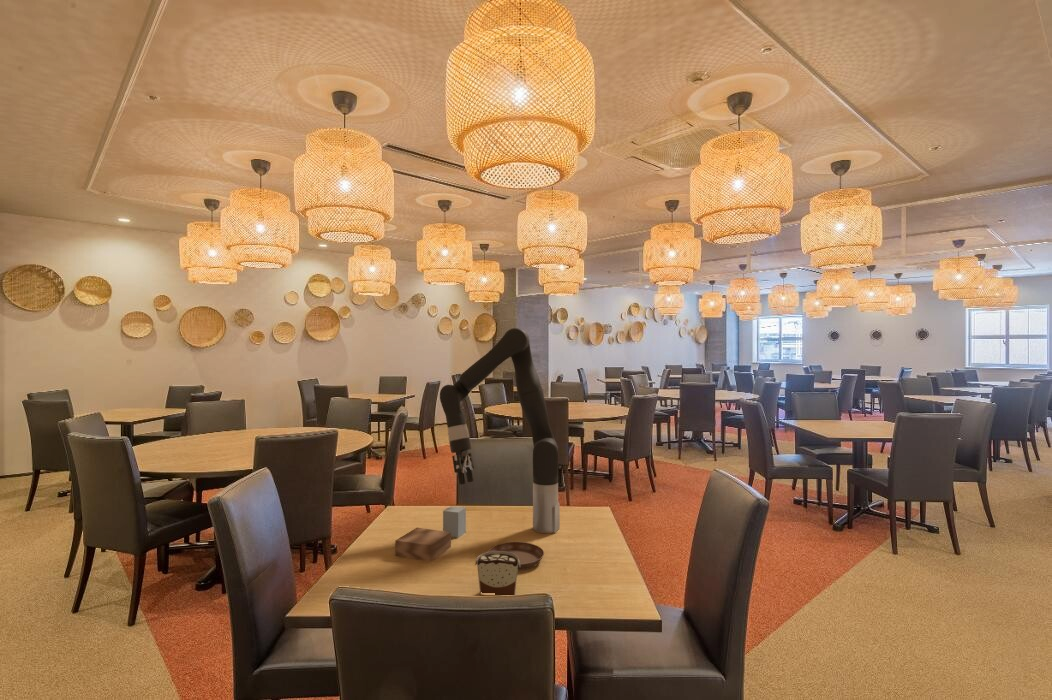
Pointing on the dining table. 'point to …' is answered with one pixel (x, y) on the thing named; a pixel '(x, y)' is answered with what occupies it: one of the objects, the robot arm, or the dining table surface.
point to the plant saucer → (522, 553)
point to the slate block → (454, 521)
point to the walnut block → (423, 544)
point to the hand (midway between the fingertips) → (466, 483)
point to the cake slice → (497, 572)
